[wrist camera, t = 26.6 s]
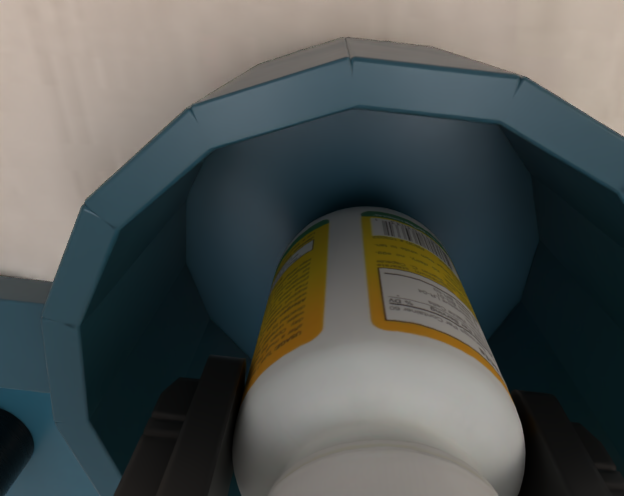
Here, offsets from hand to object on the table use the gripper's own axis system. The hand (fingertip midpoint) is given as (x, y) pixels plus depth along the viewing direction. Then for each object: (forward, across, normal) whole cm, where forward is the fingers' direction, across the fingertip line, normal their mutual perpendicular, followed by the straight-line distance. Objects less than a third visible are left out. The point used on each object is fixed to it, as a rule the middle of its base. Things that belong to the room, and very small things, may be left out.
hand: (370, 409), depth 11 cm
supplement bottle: (+6, 0, 0) cm, 6 cm away
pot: (+9, 0, 0) cm, 9 cm away
